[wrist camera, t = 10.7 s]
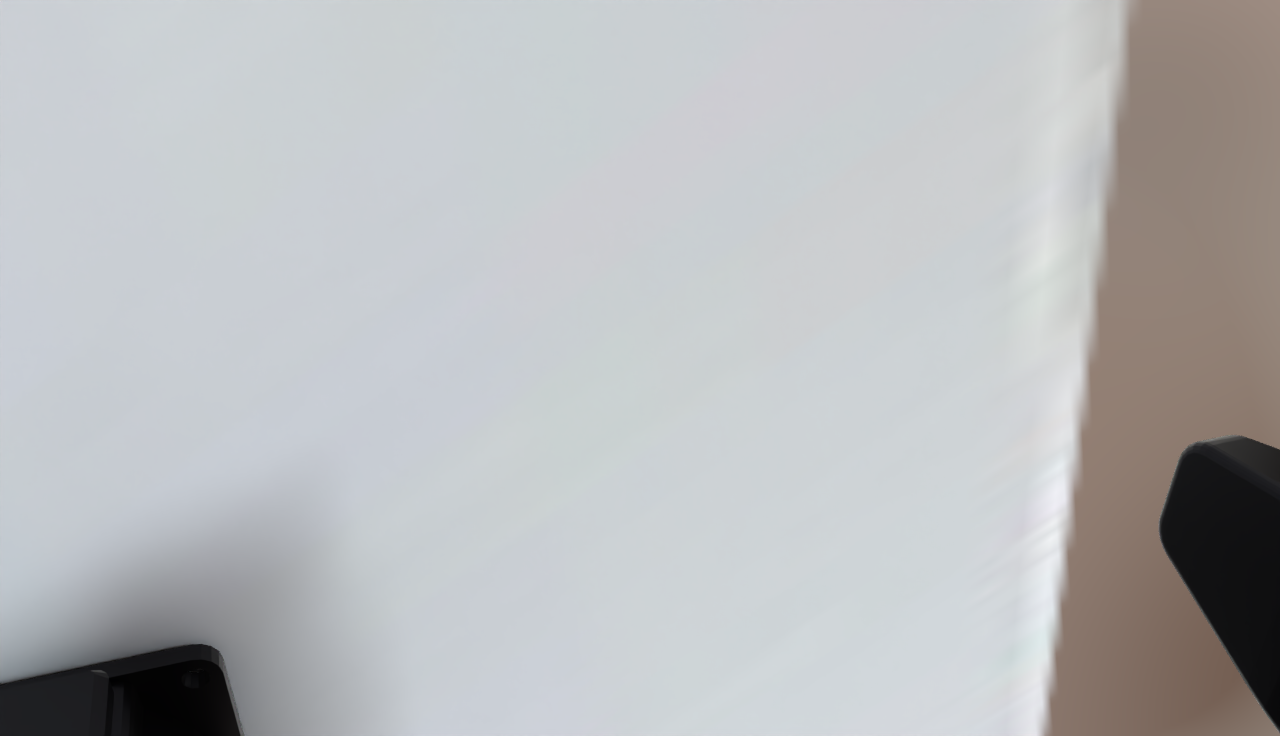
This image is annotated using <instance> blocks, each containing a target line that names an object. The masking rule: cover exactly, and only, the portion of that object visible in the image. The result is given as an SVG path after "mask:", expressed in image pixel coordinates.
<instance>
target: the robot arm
mask: <svg viewBox="0 0 1280 736" xmlns="http://www.w3.org/2000/svg"><path fill="white" fill-rule="evenodd" d="M1159 535H1160V540H1161V543H1162V546H1163V549H1164V551H1165V552H1166V554H1167V556H1168V557H1169V559H1170V561H1171V563H1172V564H1173V565H1174V567H1175V569H1176V570H1177V572H1178V574H1179V575H1180V577H1181V579H1182V580H1183V582H1184V584H1185V585H1186V587H1187V589H1188V590H1189V592H1190V593H1191V595H1192V597H1193V598H1194V600H1195V601H1196V603H1197V605H1198V606H1199V608H1200V610H1201V611H1202V613H1203V615H1204V616H1205V618H1206V619H1207V621H1208V623H1209V624H1210V626H1211V628H1212V629H1213V631H1214V632H1215V634H1216V636H1217V637H1218V639H1219V641H1220V642H1221V644H1222V645H1223V647H1224V649H1225V650H1226V652H1227V654H1228V655H1229V657H1230V658H1231V660H1232V662H1233V663H1234V665H1235V666H1236V668H1237V670H1238V672H1239V673H1240V675H1241V676H1242V678H1243V680H1244V681H1245V683H1246V684H1247V686H1248V687H1249V689H1250V691H1251V692H1252V694H1253V695H1254V697H1255V698H1256V700H1257V701H1258V703H1259V704H1260V706H1261V708H1262V709H1263V711H1264V712H1265V713H1266V715H1267V716H1268V718H1269V719H1270V720H1271V722H1272V723H1273V724H1274V726H1275V727H1276V729H1277V730H1278V731H1279V733H1280V450H1279V449H1277V448H1274V447H1272V446H1269V445H1266V444H1263V443H1260V442H1258V441H1255V440H1253V439H1249V438H1247V437H1244V436H1238V435H1227V436H1222V437H1218V438H1213V439H1208V440H1203V441H1199V442H1195V443H1193V444H1191V445H1189V446H1188V447H1187V448H1186V449H1185V450H1184V451H1183V452H1182V454H1181V456H1180V458H1179V460H1178V463H1177V466H1176V469H1175V472H1174V476H1173V478H1172V482H1171V485H1170V488H1169V491H1168V494H1167V497H1166V500H1165V503H1164V506H1163V509H1162V512H1161V515H1160V519H1159ZM192 669H202V670H204V671H201V672H199V673H190V672H187V671H190V670H192ZM0 736H244V733H243V729H242V726H241V722H240V718H239V715H238V711H237V707H236V704H235V700H234V696H233V693H232V689H231V685H230V682H229V678H228V674H227V671H226V667H225V664H224V660H223V657H222V655H221V654H220V652H219V651H218V650H217V649H215V648H213V647H212V646H208V645H203V644H197V645H188V646H183V647H179V648H174V649H169V650H164V651H160V652H155V653H150V654H146V655H141V656H136V657H132V658H127V659H122V660H117V661H113V662H108V663H103V664H99V665H94V666H89V667H84V668H80V669H75V670H70V671H66V672H61V673H56V674H52V675H47V676H42V677H37V678H33V679H28V680H23V681H19V682H14V683H9V684H4V685H0Z"/></svg>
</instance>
